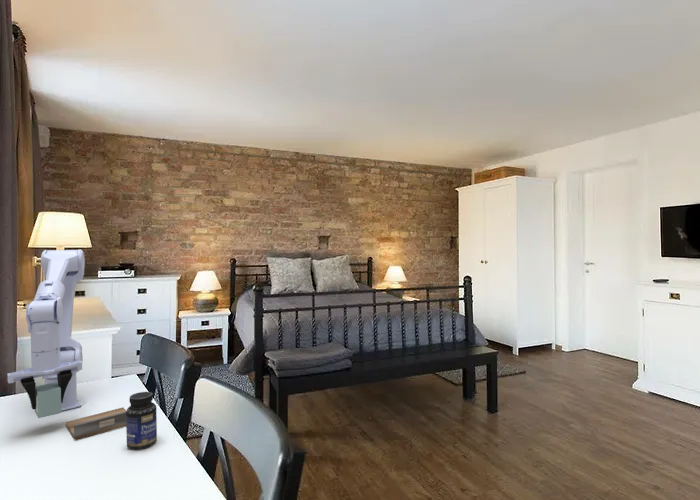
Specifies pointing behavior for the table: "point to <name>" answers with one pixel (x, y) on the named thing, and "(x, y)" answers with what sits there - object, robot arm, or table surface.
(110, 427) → the shelf board
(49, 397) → the carton
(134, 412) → the pill bottle
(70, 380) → the robot arm
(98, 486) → the table surface
